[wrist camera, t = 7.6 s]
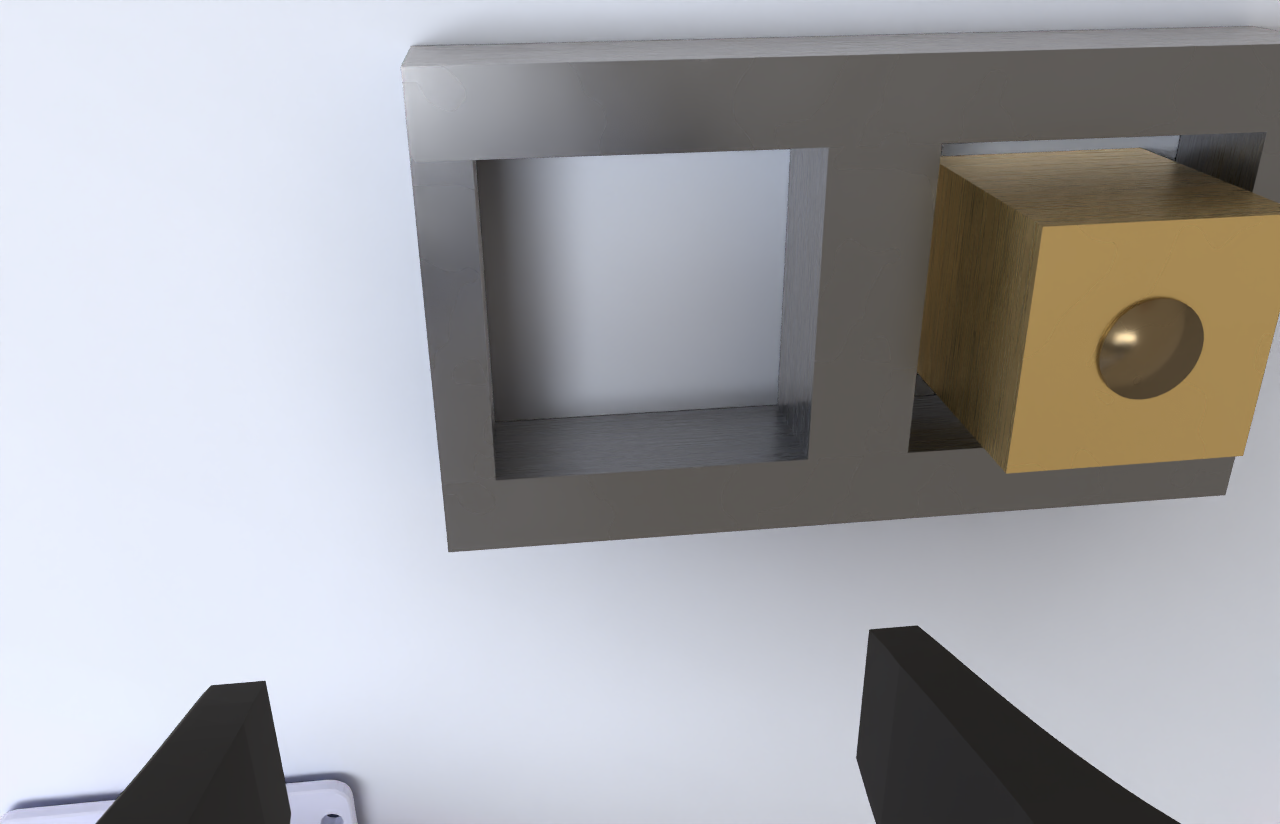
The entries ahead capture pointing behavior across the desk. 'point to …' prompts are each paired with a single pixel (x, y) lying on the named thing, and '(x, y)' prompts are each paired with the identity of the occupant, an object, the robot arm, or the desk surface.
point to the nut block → (1098, 307)
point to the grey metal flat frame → (794, 260)
